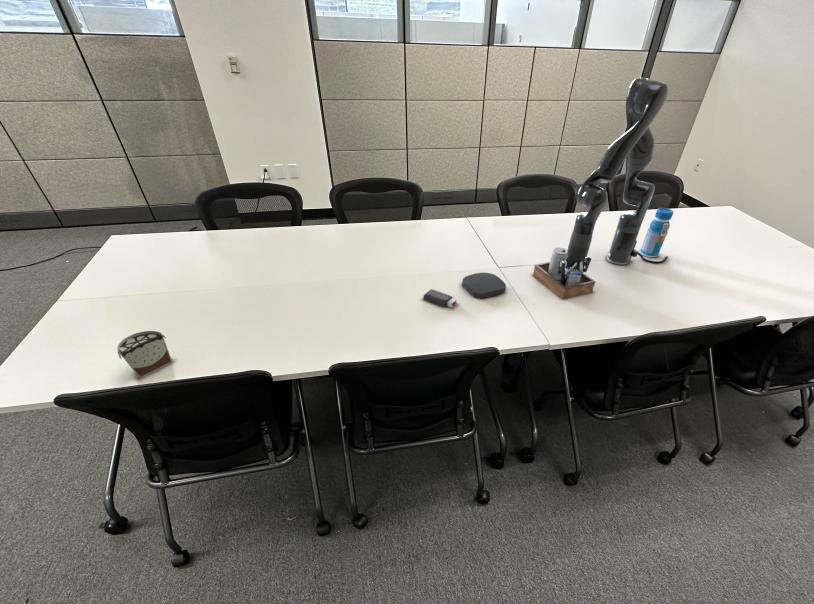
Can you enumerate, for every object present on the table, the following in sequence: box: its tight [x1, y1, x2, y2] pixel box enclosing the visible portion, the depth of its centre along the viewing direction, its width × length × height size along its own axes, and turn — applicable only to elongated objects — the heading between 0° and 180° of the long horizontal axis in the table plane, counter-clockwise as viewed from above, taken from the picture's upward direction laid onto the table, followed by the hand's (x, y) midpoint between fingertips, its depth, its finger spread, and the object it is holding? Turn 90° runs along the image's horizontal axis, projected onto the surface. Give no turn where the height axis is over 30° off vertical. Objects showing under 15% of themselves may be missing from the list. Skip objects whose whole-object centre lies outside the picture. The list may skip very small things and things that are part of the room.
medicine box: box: [565, 268, 581, 287], centre depth 164 cm, size 8×4×9 cm, turn 5°
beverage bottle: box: [639, 207, 674, 258], centre depth 187 cm, size 8×8×20 cm
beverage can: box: [548, 247, 568, 281], centre depth 169 cm, size 6×6×12 cm
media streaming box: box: [461, 272, 507, 299], centre depth 163 cm, size 15×15×3 cm
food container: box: [116, 330, 173, 379], centre depth 119 cm, size 12×6×10 cm, turn 145°
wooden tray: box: [532, 261, 597, 300], centre depth 168 cm, size 15×21×5 cm
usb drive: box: [422, 288, 458, 308], centre depth 155 cm, size 5×12×3 cm, turn 58°
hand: (569, 283), depth 165 cm, fingers open, 6 cm apart
